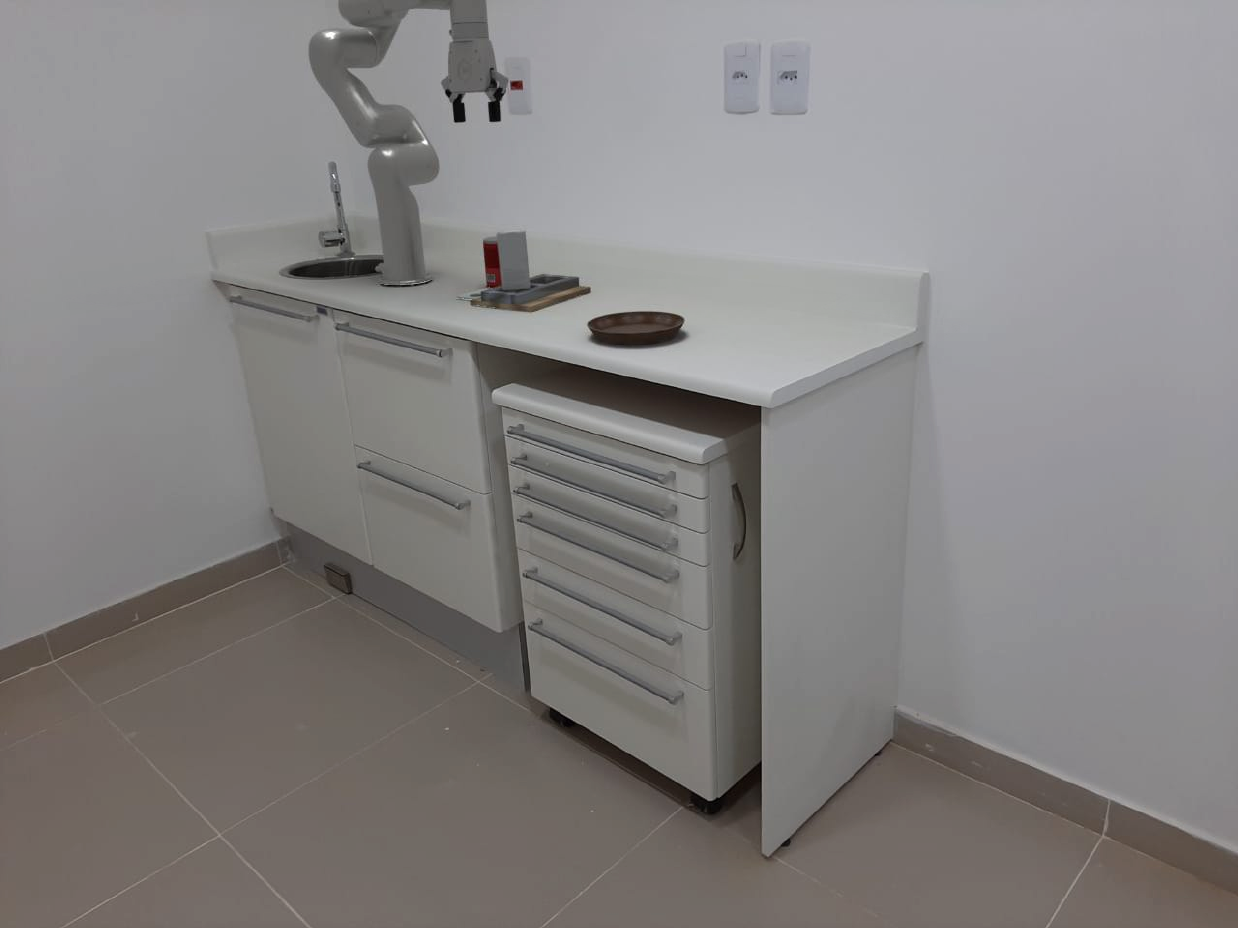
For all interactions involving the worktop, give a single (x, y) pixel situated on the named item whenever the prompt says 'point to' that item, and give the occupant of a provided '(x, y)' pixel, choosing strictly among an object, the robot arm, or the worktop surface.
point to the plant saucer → (636, 327)
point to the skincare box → (513, 259)
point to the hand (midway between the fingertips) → (477, 122)
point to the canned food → (492, 262)
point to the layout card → (472, 294)
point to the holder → (533, 293)
